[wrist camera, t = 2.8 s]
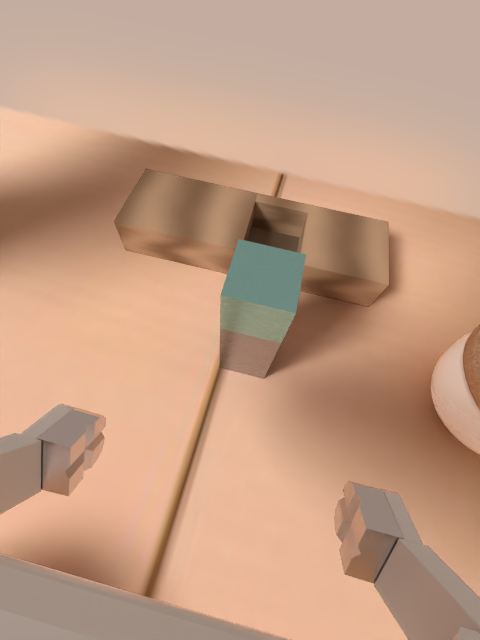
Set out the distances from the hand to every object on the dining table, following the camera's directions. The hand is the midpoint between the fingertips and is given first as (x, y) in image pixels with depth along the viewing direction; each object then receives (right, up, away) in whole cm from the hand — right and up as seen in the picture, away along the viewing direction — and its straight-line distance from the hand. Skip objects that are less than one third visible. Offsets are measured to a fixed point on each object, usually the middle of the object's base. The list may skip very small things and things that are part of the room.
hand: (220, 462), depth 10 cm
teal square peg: (+1, +2, +17) cm, 17 cm away
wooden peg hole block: (+2, +13, +23) cm, 26 cm away
